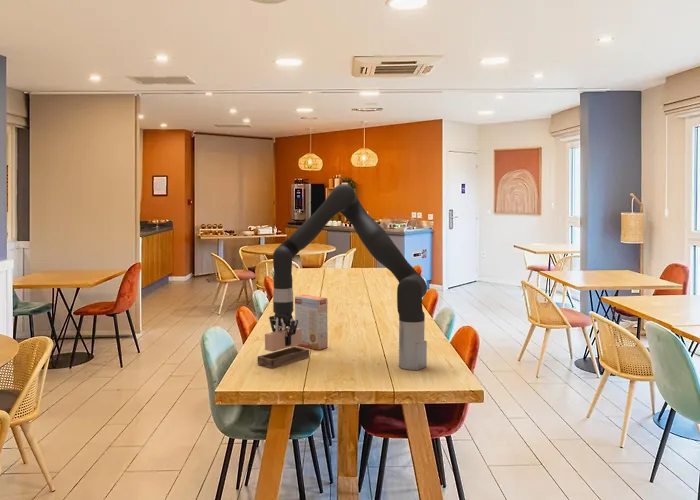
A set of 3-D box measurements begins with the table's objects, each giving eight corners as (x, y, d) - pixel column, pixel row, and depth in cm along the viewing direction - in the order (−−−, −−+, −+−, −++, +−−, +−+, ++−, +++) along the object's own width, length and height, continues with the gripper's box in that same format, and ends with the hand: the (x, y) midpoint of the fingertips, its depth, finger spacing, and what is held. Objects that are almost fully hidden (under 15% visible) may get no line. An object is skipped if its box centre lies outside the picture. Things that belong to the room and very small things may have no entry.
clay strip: (294, 342, 226) (294, 326, 225) (301, 343, 223) (301, 328, 222) (265, 349, 214) (264, 333, 214) (272, 351, 212) (272, 335, 211)
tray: (309, 357, 224) (309, 349, 223) (272, 368, 209) (272, 360, 209) (294, 353, 229) (294, 346, 229) (257, 364, 215) (257, 356, 214)
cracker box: (328, 348, 238) (328, 297, 236) (317, 350, 233) (317, 299, 231) (305, 342, 247) (304, 293, 245) (294, 344, 243) (294, 295, 241)
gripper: (303, 300, 215) (304, 345, 217) (277, 296, 225) (278, 339, 226) (289, 303, 210) (289, 349, 211) (262, 298, 219) (263, 343, 220)
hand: (283, 344), depth 219 cm, fingers closed on clay strip, 4 cm apart
